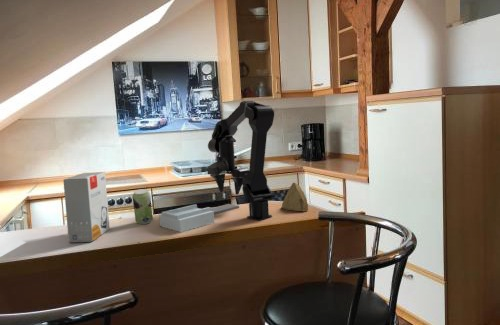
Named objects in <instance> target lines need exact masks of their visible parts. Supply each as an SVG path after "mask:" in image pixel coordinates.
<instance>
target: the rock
mask: <svg viewBox="0 0 500 325" xmlns="http://www.w3.org/2000/svg"><path fill="white" fill-rule="evenodd" d="M307 201H308V200H307V197H306V195H305V192H304V190H302V187H300V184H298V183H296V182H292V183H291V185H290V187H289V188H288V191H287V192H286V195H285V197H284V199H283V201H282V203H281V208H280V209H284V210H288V211H295V212H297V211H298V212H308V211H309V204H308V202H307Z"/></svg>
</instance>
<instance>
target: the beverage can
mask: <svg viewBox="0 0 500 325" xmlns="http://www.w3.org/2000/svg"><path fill="white" fill-rule="evenodd" d="M132 202H133V203H132V204H133V210H134V212H133V213H134V221H135V222H136V223H138V224H139V225H146V224H149V223H151V221H153V220H154V217H153V208H152V207H153V206H152V199H151V193H150V192H149V190H148V189H146V188H140V189H136V190H134V191H133V193H132Z"/></svg>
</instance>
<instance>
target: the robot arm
mask: <svg viewBox="0 0 500 325" xmlns="http://www.w3.org/2000/svg"><path fill="white" fill-rule="evenodd" d="M274 118H275V111H274V109H273V107H272V106H270V105H265V104H263V103H258V102H256V101H254V100H242V101H241V102H239V105H238V106H237V107H236V108H235V109H234V110H233V111H232V112H231V113H230V115H229V116H228V117H226V118H223V119H220V120H219V121H217V122H216V124H215V126H214V129H213V132H212V133H211V139H210V140H209V141H208V143H207V148H208V150H209V151H210V152H211V153H217V154H219V156H217V158H216V161H215V162H213V163H211V164H210V165H208V166H207V175H209V176H210V177H212V178H213V179H214V180H215V182H216V184H217V187H218V190H219V192H220V193H223V192H224V187H225V186H224V185H225V178H226V174H227V175H231V176H232V177H231V179H232V181H233V182H234V183H233V184H234V191H235V192H234V193H235V195H237V196H238V195H239V193H240V191H241V189H242V194H243V197H244V202H246V203H248V206H249V207H248V208H249V215H247V216H246V218H247V219H252V220H255V221H262V220H265V219H268V218H271V217H273V215H272V214H270V212H269V210H270V209H269V200H273V196H274V195H273V192H272V190H271V189H270V187H269V185H268V179H267V177H266V175H265V173H264V171H265V170H264V168H265V160H266V159H265V158H266V149H267V148H266V147H267V136H268V132H269V131H270V129H271V127H272V126H273V124H274ZM246 119H248V124H249V127H250V130H251V131H252V133H251V145H250V159H249V168H247V167H245V168H244V167H239V168H238V166H237V165H236V164H235V163H236V162H235V160H236V159H237V155H235V144H234V143H236V142H237V140H236V139H235V137H233V136H234V135H236V133H237V131H239V130H238V126H240V124H241V123H242V122H244V121H245V120H246Z"/></svg>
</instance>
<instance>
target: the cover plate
mask: <svg viewBox="0 0 500 325" xmlns="http://www.w3.org/2000/svg"><path fill="white" fill-rule="evenodd" d="M239 208H240V205H237V204H232V203H226V204H223V205H219V206H214V207H211V211H214V216H216V215H220V214H223V213H226V212H229V211H234V210H238V209H239Z"/></svg>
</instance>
